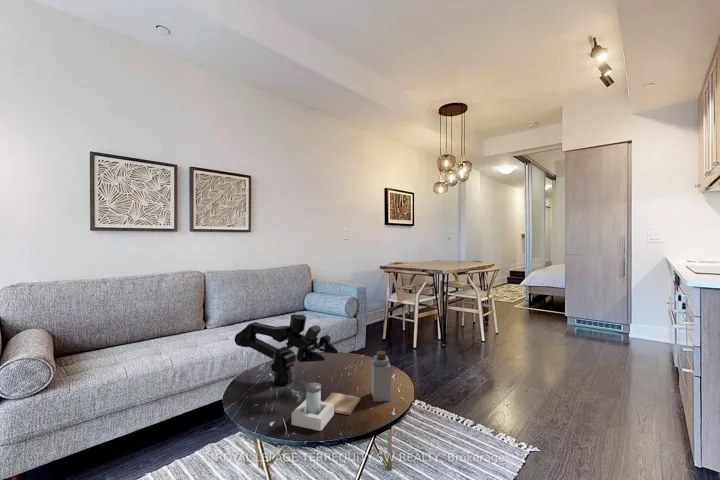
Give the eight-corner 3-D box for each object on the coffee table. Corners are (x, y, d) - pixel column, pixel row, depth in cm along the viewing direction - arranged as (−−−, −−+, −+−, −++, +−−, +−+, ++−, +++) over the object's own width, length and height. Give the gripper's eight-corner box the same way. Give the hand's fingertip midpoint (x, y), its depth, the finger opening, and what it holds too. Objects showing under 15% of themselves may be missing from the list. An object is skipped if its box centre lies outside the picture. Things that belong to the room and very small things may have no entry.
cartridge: (303, 421, 118) (303, 387, 118) (310, 414, 123) (310, 381, 123) (316, 424, 117) (317, 390, 116) (323, 417, 122) (323, 383, 121)
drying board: (319, 409, 127) (319, 406, 127) (332, 394, 138) (332, 392, 138) (349, 415, 123) (349, 412, 123) (360, 399, 134) (360, 397, 134)
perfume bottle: (371, 393, 140) (372, 349, 140) (387, 392, 141) (388, 349, 140) (373, 401, 133) (374, 355, 133) (390, 401, 134) (391, 355, 133)
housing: (291, 424, 117) (291, 413, 116) (306, 409, 127) (306, 398, 127) (320, 431, 113) (320, 419, 113) (333, 414, 123) (334, 403, 123)
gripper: (289, 328, 135) (320, 343, 127) (317, 318, 151) (346, 330, 144) (284, 355, 136) (315, 370, 129) (313, 342, 152) (342, 355, 145)
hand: (331, 355), depth 136 cm, fingers open, 9 cm apart
